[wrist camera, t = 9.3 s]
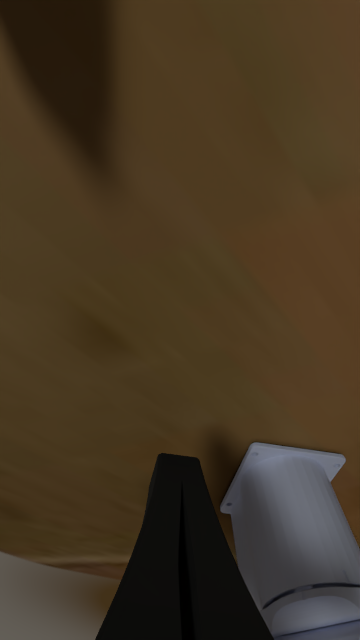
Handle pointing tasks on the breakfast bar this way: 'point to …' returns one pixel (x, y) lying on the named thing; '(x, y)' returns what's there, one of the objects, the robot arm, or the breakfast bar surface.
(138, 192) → the breakfast bar surface
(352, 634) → the robot arm
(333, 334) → the breakfast bar surface
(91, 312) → the breakfast bar surface
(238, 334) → the breakfast bar surface
